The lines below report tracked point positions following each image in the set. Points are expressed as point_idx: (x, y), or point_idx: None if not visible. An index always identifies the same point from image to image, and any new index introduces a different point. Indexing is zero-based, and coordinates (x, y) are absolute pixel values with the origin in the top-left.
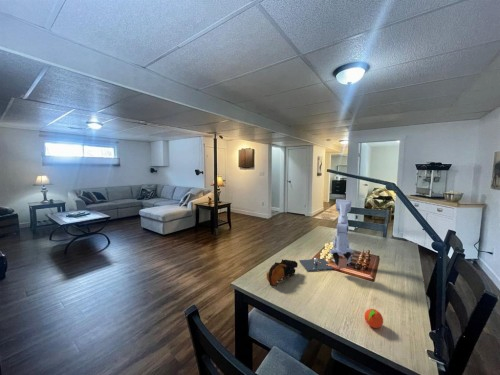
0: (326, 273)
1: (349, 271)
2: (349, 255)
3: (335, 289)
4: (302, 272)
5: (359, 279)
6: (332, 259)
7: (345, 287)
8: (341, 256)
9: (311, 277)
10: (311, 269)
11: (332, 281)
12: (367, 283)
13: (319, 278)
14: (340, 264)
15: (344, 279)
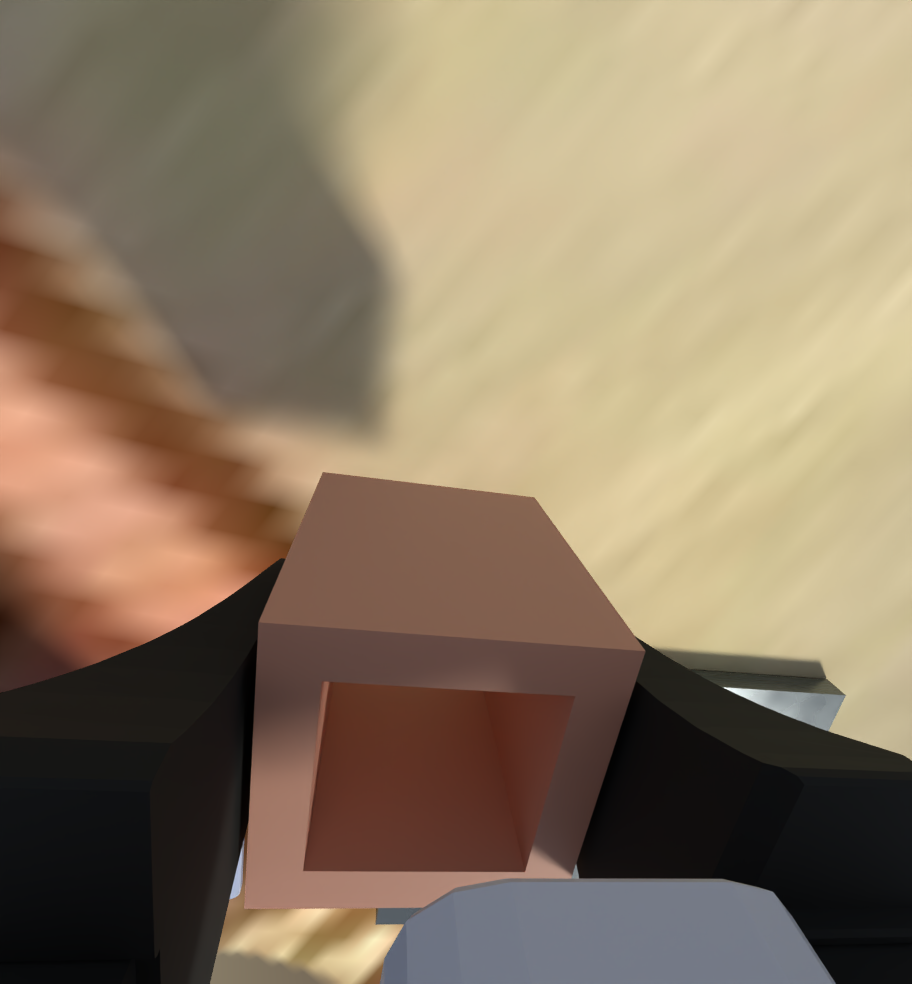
0: (610, 577)
1: (169, 545)
2: (38, 724)
3: (865, 79)
4: (898, 670)
5: (151, 236)
6: (237, 895)
7: (646, 67)
8: (333, 833)
9: (899, 531)
10: (778, 697)
11: (706, 338)
12: (65, 21)
13: (820, 477)
14: (525, 534)
15: (456, 331)
